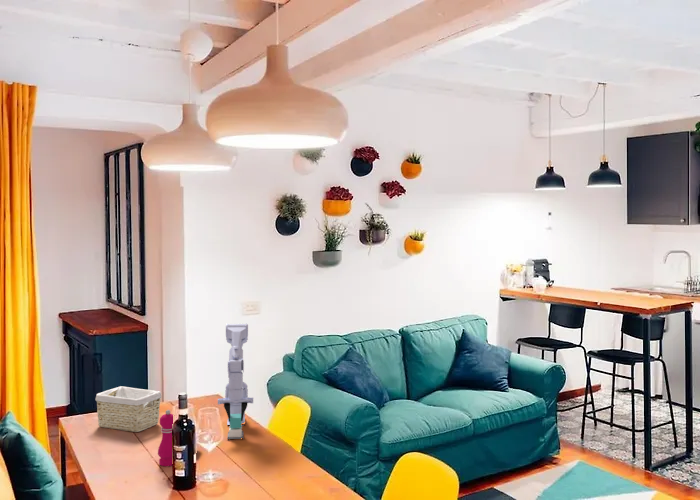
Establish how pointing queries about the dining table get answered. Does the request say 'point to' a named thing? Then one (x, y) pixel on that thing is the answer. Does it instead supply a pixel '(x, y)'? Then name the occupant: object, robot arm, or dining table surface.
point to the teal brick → (235, 420)
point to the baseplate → (234, 437)
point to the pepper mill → (166, 440)
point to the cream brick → (235, 432)
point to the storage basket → (128, 408)
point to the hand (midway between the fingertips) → (235, 420)
